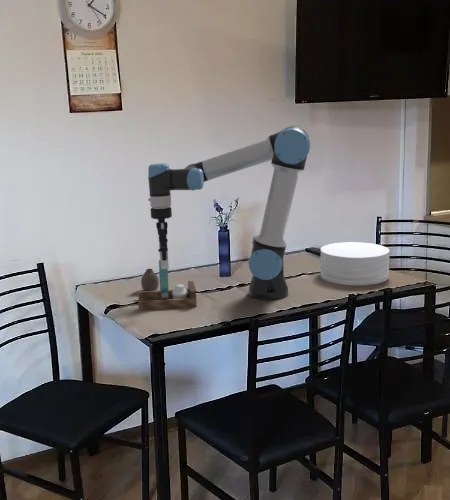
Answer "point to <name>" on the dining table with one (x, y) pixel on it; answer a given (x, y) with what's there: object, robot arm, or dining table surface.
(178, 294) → the white rounded lump
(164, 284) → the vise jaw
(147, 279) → the vase
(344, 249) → the plate stack
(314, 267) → the dining table surface
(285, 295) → the robot arm
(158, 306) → the wooden tray
